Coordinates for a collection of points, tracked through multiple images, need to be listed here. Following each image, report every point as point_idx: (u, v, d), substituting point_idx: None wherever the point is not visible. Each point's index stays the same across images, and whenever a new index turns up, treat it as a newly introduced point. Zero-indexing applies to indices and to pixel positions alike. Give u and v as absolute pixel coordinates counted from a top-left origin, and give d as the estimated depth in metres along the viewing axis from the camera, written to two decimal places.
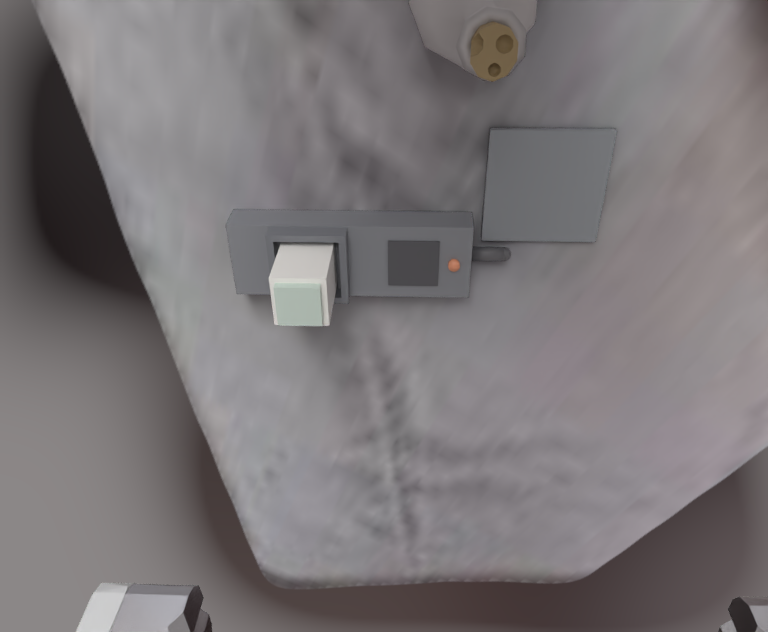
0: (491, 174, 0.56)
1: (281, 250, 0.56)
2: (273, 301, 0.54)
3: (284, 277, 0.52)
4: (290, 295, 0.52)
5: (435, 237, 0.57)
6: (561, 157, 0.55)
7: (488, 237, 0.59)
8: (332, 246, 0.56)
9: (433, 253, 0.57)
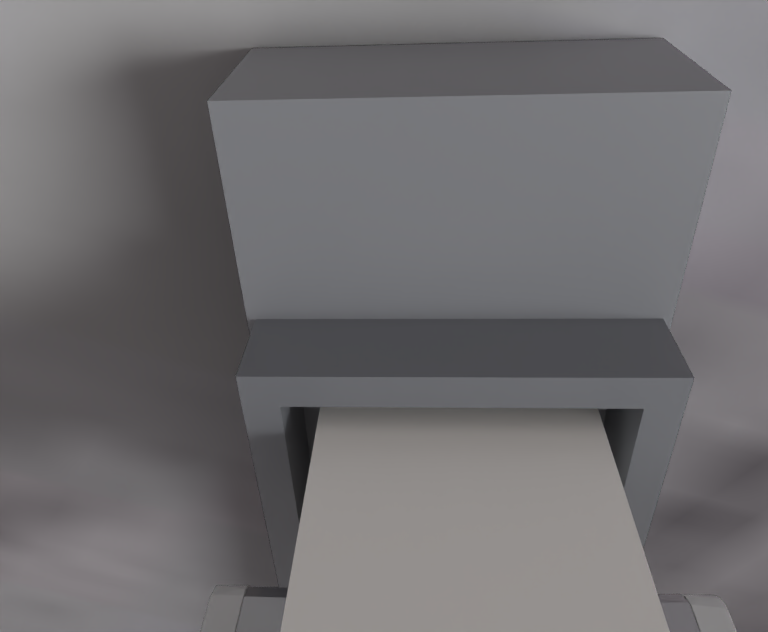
0: None
1: None
2: None
3: None
4: None
5: None
6: None
7: None
8: None
9: None
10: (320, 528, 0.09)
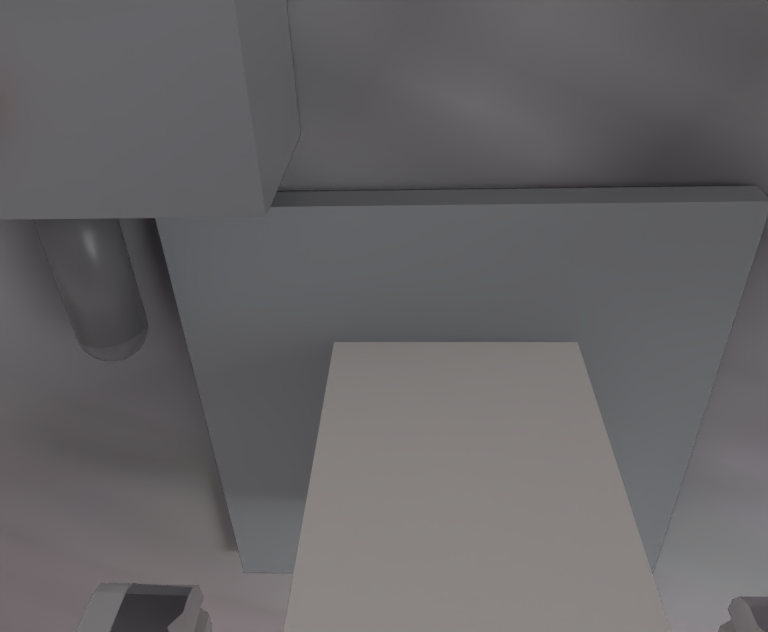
0: (527, 226, 0.11)
1: None
2: None
3: None
4: None
5: None
6: None
7: (178, 239, 0.11)
8: None
9: None
10: (329, 479, 0.10)
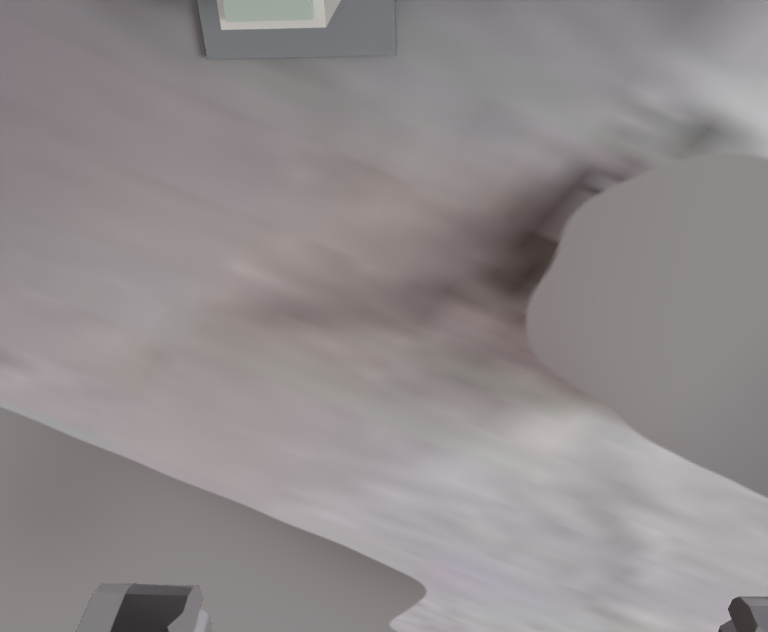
0: None
1: None
2: None
3: None
4: None
5: None
6: None
7: None
8: (337, 2, 0.33)
9: None
10: None
